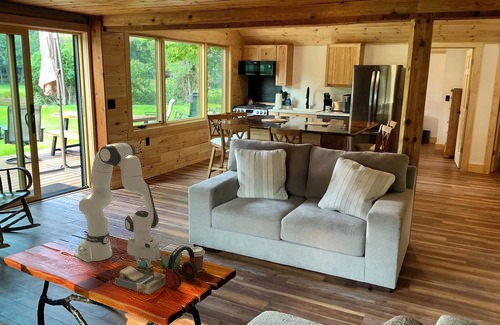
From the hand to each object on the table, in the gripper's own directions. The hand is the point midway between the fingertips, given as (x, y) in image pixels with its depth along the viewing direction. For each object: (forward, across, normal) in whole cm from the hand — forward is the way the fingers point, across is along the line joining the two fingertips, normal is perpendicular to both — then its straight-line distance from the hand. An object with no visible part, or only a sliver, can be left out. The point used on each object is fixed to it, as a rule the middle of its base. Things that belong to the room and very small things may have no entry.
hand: (143, 264), depth 217 cm
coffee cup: (+3, +25, +14) cm, 29 cm away
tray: (+3, +16, -12) cm, 21 cm away
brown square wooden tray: (+3, 0, 0) cm, 3 cm away
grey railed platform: (+3, +5, -12) cm, 14 cm away
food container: (+3, +15, +6) cm, 17 cm away
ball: (-1, 0, 0) cm, 1 cm away
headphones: (+3, +27, -3) cm, 28 cm away
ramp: (+1, +3, -12) cm, 13 cm away
